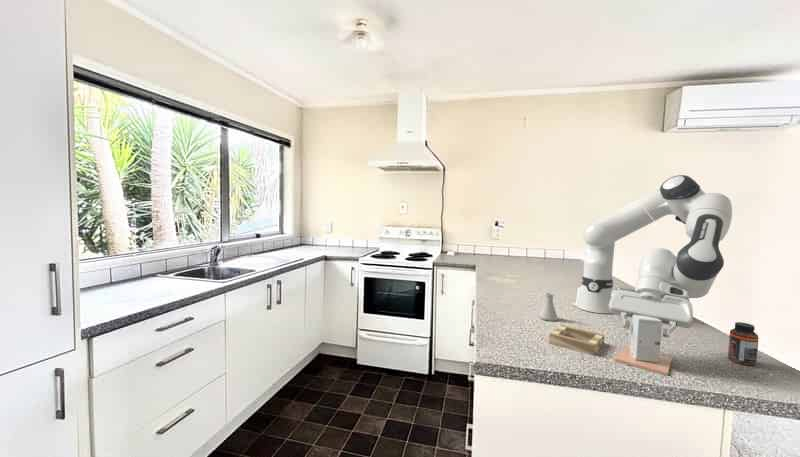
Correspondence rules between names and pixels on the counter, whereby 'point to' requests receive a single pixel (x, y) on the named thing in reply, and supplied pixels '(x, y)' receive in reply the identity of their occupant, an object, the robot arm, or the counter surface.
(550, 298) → the flask
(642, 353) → the skincare box
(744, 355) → the supplement bottle
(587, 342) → the light wooden square frame
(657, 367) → the terracotta tile
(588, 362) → the counter surface
